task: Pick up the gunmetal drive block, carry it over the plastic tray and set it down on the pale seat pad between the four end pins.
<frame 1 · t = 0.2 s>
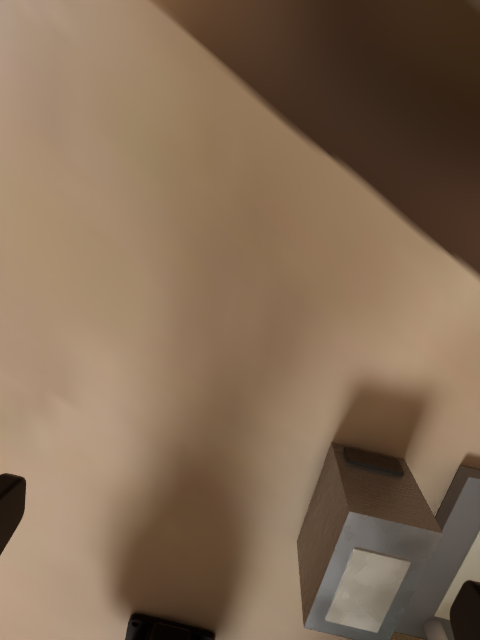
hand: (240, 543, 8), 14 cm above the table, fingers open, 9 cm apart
drive: (347, 501, 24), on the table
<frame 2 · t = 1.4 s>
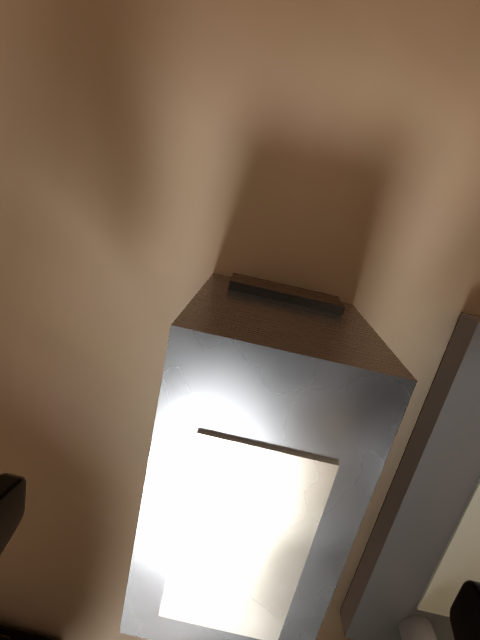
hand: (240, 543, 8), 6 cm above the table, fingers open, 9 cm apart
drive: (254, 398, 13), on the table
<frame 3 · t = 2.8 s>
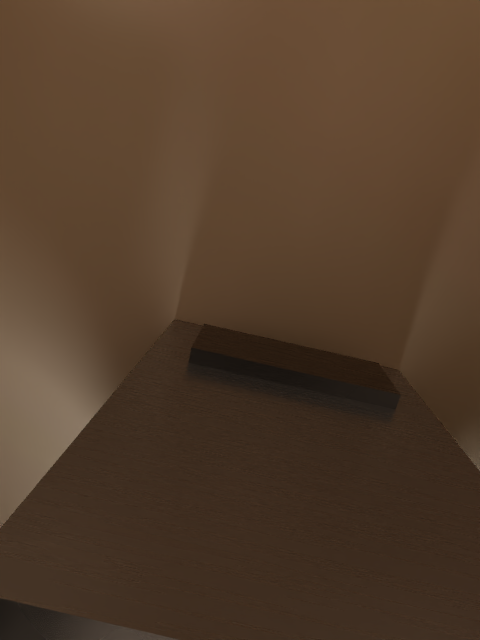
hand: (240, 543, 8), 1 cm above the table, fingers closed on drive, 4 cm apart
drive: (243, 505, 9), on the table, touching gripper
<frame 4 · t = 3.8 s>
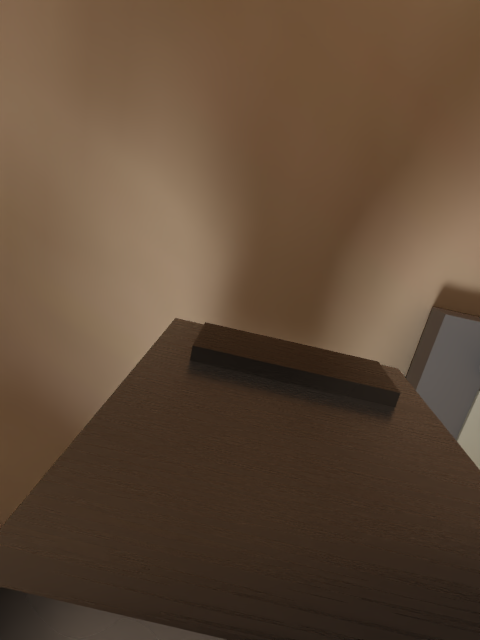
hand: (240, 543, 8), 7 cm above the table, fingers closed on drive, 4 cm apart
drive: (243, 503, 9), point 6 cm above the table, touching gripper
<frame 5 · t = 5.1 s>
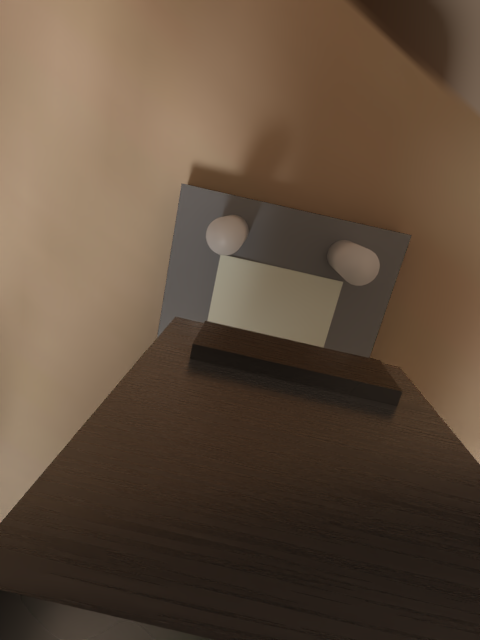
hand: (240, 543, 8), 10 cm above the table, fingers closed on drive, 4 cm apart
tray: (258, 353, 17), on the table
drive: (243, 503, 9), point 9 cm above the table, touching gripper
when the fingers open (3 cm above the table, at t = 7.0 s): drive drops 1 cm, resting on tray.
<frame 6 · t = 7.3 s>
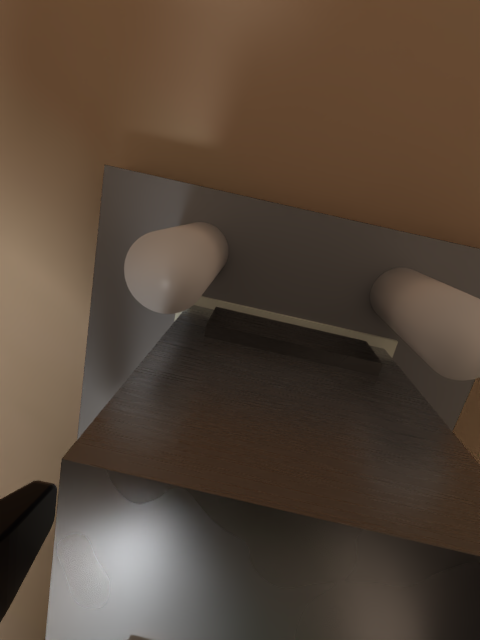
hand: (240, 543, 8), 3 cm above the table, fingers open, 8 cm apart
tray: (249, 444, 11), on the table
drive: (247, 471, 10), point 1 cm above the table, touching tray
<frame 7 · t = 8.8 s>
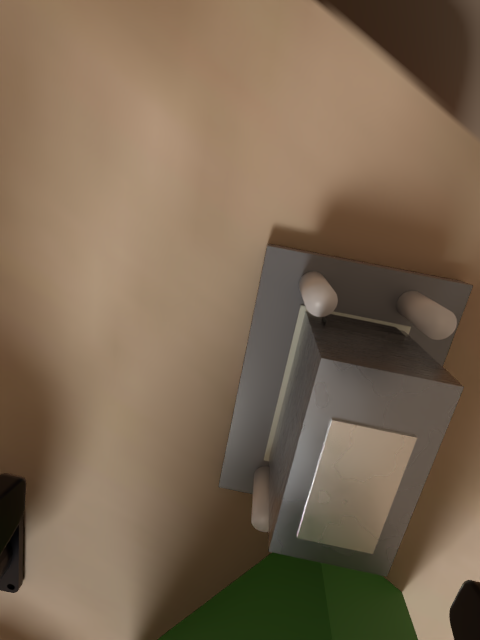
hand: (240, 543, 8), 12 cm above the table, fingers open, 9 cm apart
hardback book: (256, 625, 25), on the table
tray: (328, 387, 19), on the table
drive: (332, 398, 18), point 1 cm above the table, touching tray
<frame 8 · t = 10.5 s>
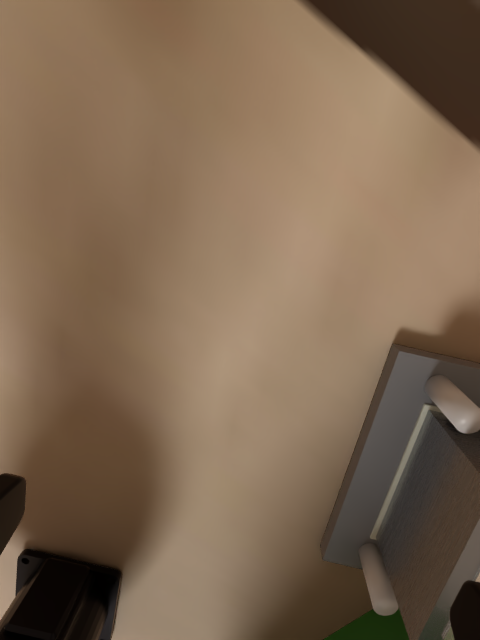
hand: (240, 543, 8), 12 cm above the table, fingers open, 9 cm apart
tray: (434, 472, 20), on the table
drive: (443, 487, 19), point 1 cm above the table, touching tray
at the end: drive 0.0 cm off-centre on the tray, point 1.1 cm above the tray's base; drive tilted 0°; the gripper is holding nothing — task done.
